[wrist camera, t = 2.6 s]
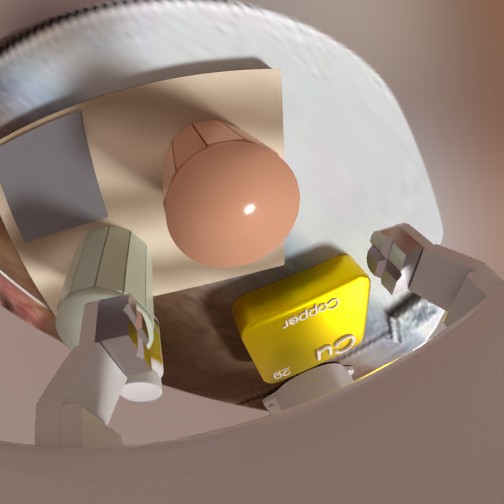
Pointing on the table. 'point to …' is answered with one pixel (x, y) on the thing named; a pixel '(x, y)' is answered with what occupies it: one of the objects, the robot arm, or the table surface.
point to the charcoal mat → (51, 179)
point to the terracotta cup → (226, 195)
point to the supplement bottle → (147, 375)
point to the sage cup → (105, 279)
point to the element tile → (304, 318)
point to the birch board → (152, 170)
